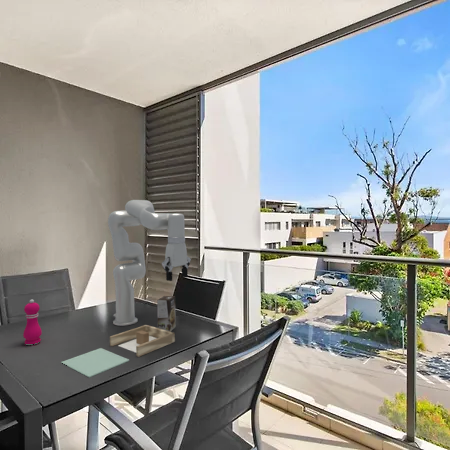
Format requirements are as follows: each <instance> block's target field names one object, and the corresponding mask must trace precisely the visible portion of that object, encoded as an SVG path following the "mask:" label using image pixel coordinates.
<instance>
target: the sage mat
mask: <svg viewBox="0 0 450 450" xmlns="http://www.w3.org/2000/svg"><path fill="white" fill-rule="evenodd" d="M128 362H130V359H129V358H126V357H123V356H121V355H118V354H116V353H114V352H112V351H109V350H106V349H104V348H102V347H100V348H97V349H94V350H91V351H88V352H86V353H82V354H80V355H77V356H74V357H72V358H69V359H66V360H64V361H63V360H62V361H61V362H60V363H61V364H62V363H63V364H62V365H64V364H65V365H64V366H66V365H67V366H66V367H68V368H70V369H72V370H74V371H76V372H78V373H79V374H81V375H83V376H86V377H88V378H92V377H94V376H97V375H99V374H101V373H103V372H106V371H108V370H110V369H113V368H116V367H118V366H121V365H123V364H126V363H128Z"/></svg>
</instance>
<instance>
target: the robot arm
mask: <svg viewBox="0 0 450 450" xmlns="http://www.w3.org/2000/svg"><path fill="white" fill-rule="evenodd" d="M107 219H108V220H107V224H108V229H109V231H110V232H109V233H110V234H111V240H112V241H111V242H112V249H113V256H114V258H115V260H116V261H118V262H125V261H126V262H125V263H119V264H117V265H116V266H114V268H113V270H112V275H113V279H114V285H115V286H114V287H115V289H114V290H115V313H114V314H113V317H114V318H115V319H114V320H113V321H112V322H113V323H112V324H113V325H115V326H118V327H120V326H121V327H125V326H132V325H134V324H136V323H137V322H138V319H139V318H137V317H135V315H136V314H135V287H134V286H133V285H132V283H131V282H130V281H135V280H141V279H143V278H144V277H145V276H146V273H147V271H146V269H147V268H146V262H145V260H146V259H145V253H144V249H143V246H142V245H141V244H140V243H139V242H130V237H129V233H128V232H127V231H126V229H125V228H124V227H138V226H140V225H141V226H143V227H144V228H147V229H149V230H153V231H160V230H161V231H162V230H167V244H166V247H165V252H164V253H165V254H164V255H165V256H164V258H165V259H164V260H162V262H161V265H162V269H164V272H165V275H166V276H165V278H166V279H165V280H166V281H168V282H172V281H173V271H172V270H173V268H175V267H181V277H182V278H188V269H189V266H190V264H191V260H192V259H191V257H189V256H188V251H187V245H186V236H185V235H186V232H185V231H186V229H185V225H186V224H185V215H184V214H183V213H167V212H166V213H164V212H163V213H160V212H159V213H157V212H155V208H154V204H153V203H152V202H151V201H150V200H147V199H132V200H131V199H130V200H129V201H127V202H126V204H125V206H124V209H123V210H122V209H121V210H114V211H112V212H111V213H110V214H109V216H108V218H107ZM127 261H132V262H127Z"/></svg>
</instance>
